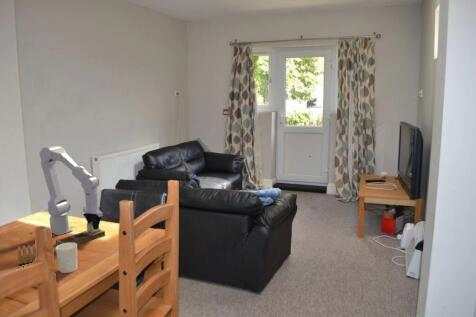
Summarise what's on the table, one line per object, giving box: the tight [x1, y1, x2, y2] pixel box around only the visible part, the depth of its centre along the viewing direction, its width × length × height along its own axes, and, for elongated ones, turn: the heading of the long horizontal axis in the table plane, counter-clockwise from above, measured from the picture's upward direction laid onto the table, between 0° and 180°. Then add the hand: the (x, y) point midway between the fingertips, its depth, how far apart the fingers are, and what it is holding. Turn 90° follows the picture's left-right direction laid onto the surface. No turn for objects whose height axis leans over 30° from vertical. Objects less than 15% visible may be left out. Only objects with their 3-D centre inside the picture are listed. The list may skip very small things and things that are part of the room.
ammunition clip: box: [17, 243, 37, 266], centre depth 160 cm, size 11×2×12 cm, turn 117°
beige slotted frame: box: [55, 228, 106, 246], centre depth 196 cm, size 8×21×2 cm, turn 141°
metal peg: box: [86, 222, 100, 234], centre depth 200 cm, size 4×4×6 cm
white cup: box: [55, 242, 78, 274], centre depth 163 cm, size 8×8×10 cm
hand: (93, 227), depth 200 cm, fingers closed on metal peg, 4 cm apart
